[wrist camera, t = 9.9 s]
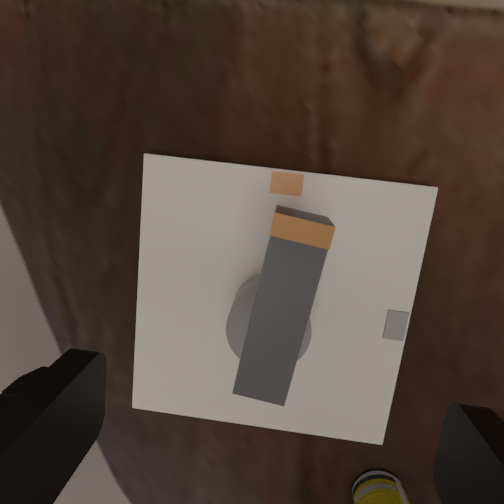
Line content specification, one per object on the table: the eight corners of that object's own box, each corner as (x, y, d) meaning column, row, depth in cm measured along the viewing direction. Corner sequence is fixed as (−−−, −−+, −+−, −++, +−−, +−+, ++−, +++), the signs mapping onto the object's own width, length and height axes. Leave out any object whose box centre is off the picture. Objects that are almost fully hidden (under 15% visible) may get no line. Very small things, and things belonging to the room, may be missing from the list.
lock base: (378, 433, 36) (396, 486, 30) (138, 398, 37) (110, 442, 31) (430, 186, 31) (465, 192, 25) (150, 153, 32) (120, 152, 26)
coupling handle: (284, 357, 28) (285, 407, 22) (241, 347, 28) (231, 393, 22) (324, 212, 26) (335, 226, 20) (277, 201, 26) (275, 212, 20)
